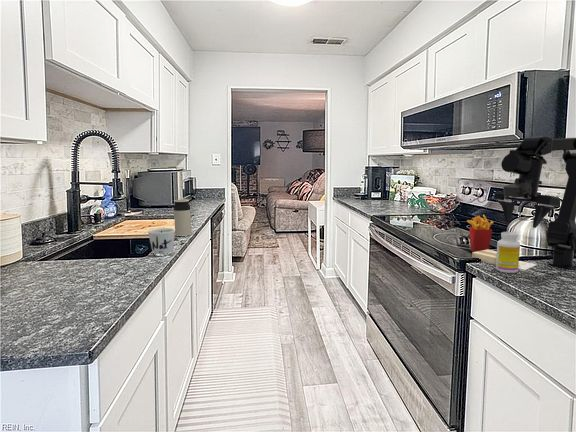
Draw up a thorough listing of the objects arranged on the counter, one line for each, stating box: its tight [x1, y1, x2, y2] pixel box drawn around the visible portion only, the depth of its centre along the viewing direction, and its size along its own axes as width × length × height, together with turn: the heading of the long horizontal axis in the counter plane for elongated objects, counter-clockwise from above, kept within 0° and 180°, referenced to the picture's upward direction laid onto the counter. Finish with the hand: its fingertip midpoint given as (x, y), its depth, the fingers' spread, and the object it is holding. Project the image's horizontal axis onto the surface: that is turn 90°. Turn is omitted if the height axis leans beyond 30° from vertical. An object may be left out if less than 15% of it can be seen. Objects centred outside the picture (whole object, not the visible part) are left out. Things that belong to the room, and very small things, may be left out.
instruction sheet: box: [518, 260, 538, 271], centre depth 141 cm, size 10×8×1 cm
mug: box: [147, 228, 175, 253], centre depth 166 cm, size 10×15×10 cm
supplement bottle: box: [495, 231, 521, 274], centre depth 134 cm, size 7×7×13 cm
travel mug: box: [173, 198, 192, 236], centre depth 202 cm, size 8×8×18 cm
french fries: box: [466, 214, 494, 252], centre depth 159 cm, size 9×8×15 cm
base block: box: [471, 249, 497, 265], centre depth 148 cm, size 9×9×2 cm
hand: (520, 225), depth 128 cm, fingers open, 9 cm apart
